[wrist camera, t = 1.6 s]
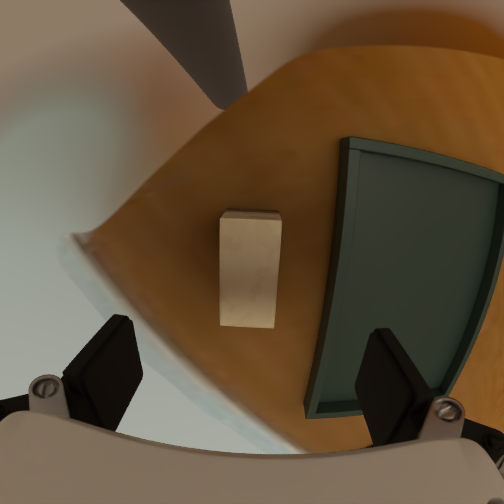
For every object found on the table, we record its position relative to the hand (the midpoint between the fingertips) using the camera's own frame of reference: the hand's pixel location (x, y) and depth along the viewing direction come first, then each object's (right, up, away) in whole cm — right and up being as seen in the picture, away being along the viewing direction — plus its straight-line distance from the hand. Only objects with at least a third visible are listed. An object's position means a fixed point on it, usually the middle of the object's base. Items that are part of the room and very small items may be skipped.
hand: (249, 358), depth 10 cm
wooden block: (0, +4, +10) cm, 11 cm away
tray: (+14, 0, +11) cm, 17 cm away
